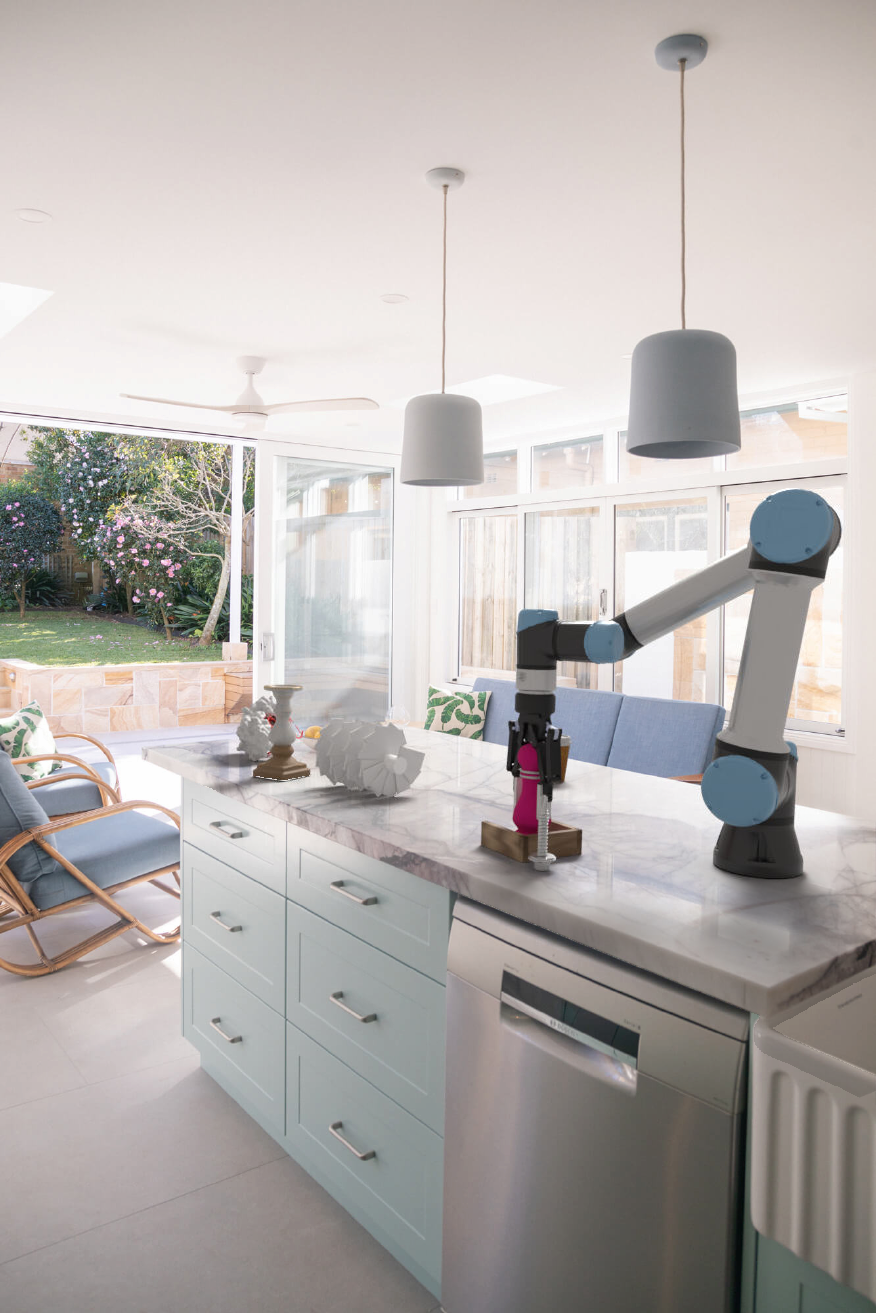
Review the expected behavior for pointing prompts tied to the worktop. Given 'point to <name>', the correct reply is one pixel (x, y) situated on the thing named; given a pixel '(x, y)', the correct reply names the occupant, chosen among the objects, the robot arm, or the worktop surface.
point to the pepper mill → (527, 792)
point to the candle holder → (282, 739)
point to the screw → (542, 839)
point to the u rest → (531, 840)
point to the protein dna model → (257, 728)
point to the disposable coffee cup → (564, 754)
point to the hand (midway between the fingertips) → (531, 814)
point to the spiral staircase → (367, 756)
